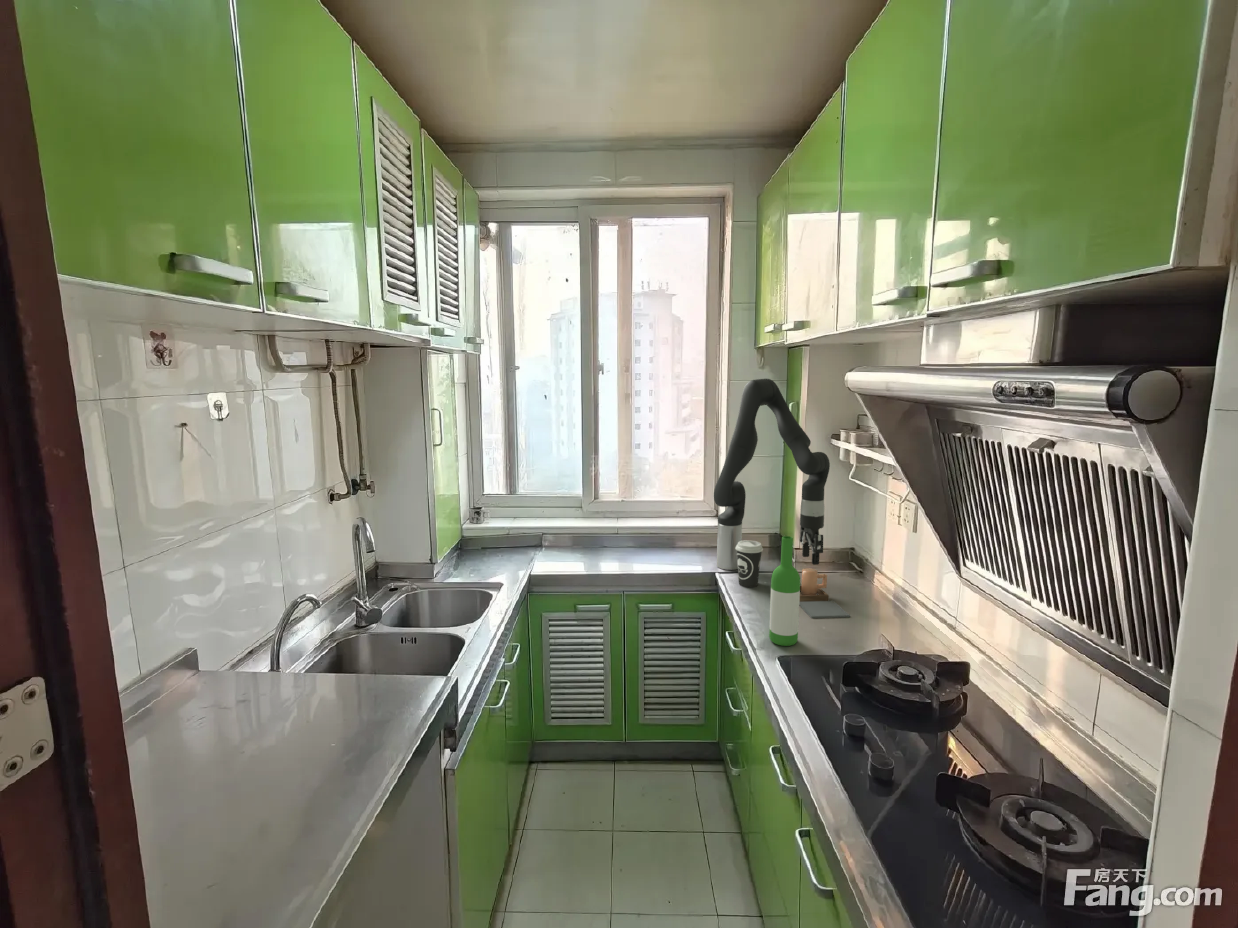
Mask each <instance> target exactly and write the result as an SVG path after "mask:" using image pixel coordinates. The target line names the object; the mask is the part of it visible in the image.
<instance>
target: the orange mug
mask: <svg viewBox="0 0 1238 928" xmlns="http://www.w3.org/2000/svg"><path fill="white" fill-rule="evenodd" d="M818 579H822V582H821V583H818ZM827 583H828V575H827V573H818V570H817V569H815V568H811V567H810V568H809V567H807V568H802V570H801V581H800V586H801V592H800V594H801V595H818V593H817V588H821V589H827V588H828V587H827V585H828V584H827Z"/></svg>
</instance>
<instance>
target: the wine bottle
mask: <svg viewBox="0 0 1238 928" xmlns="http://www.w3.org/2000/svg"><path fill="white" fill-rule="evenodd" d="M793 547H794V537H793V536H789V535H784V536H782V537H781V551H780V552H781V553H780V565H778V566H777V567H776V568H775V569H774V570H773V572H772V574H771V581H770V582H771V583H770V603H769V604H770V605H769V628H768V629H769V634H768V635H769V636H768V637H769V639H770V641H771V642H772V643H773V644H775V645H778V646H782V647H790V646H794V645H796V644H797V642H798V638H799V617H800V606H799V600H800V594H801V592H800V586H801V576H800V574H799V571H798V570H797V569H796V567H795V566H793Z"/></svg>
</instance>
